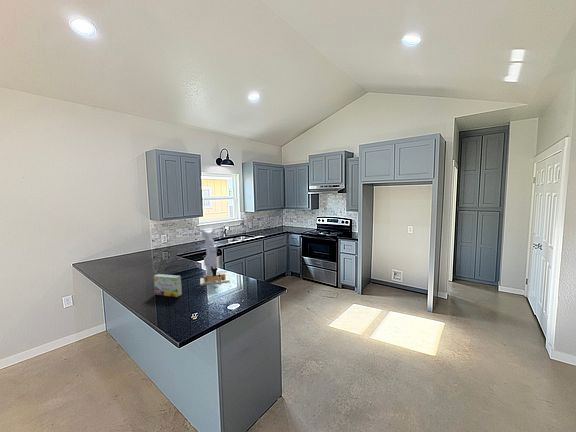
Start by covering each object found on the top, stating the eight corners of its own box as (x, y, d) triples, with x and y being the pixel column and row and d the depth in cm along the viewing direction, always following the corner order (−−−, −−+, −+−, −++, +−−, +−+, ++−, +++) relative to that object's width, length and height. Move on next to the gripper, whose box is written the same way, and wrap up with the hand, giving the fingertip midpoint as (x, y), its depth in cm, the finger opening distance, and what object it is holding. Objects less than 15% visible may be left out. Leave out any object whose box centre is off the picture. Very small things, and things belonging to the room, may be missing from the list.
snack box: (154, 295, 200) (153, 275, 199) (160, 292, 206) (158, 273, 205) (177, 297, 194) (176, 277, 193) (182, 294, 199) (181, 275, 198)
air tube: (225, 277, 234) (225, 272, 234) (225, 278, 230) (225, 273, 230) (204, 279, 229) (203, 275, 228) (204, 281, 225) (204, 276, 225)
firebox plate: (200, 279, 233) (200, 274, 233) (227, 276, 241) (227, 271, 241) (200, 285, 218) (199, 280, 218) (229, 281, 226) (229, 276, 225)
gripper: (208, 258, 234) (209, 273, 235) (208, 261, 220) (209, 277, 221) (216, 257, 236) (217, 272, 237) (217, 261, 222) (218, 276, 223)
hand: (214, 274), depth 229 cm, fingers open, 7 cm apart
